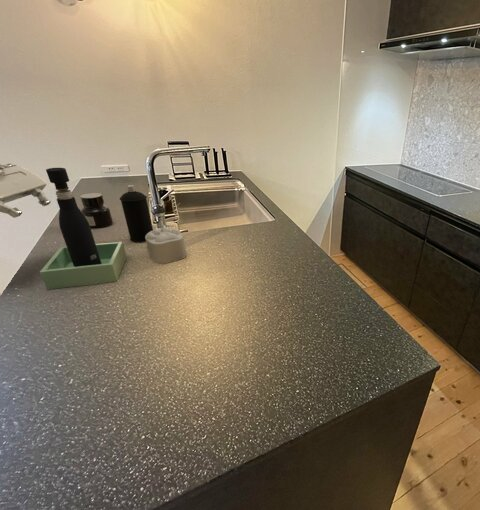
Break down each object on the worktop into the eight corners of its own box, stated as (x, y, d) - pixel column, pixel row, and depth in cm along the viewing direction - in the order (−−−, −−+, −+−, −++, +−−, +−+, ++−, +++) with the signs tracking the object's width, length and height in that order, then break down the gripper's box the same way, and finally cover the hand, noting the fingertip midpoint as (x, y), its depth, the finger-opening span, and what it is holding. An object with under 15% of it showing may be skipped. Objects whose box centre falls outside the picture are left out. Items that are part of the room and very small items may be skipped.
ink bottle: (84, 222, 124) (75, 193, 118) (110, 218, 129) (102, 191, 124) (87, 230, 117) (78, 200, 112) (115, 226, 123) (107, 197, 118)
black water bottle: (80, 265, 94) (45, 166, 80) (105, 263, 96) (75, 166, 83) (72, 276, 89) (34, 171, 75) (99, 273, 91) (66, 171, 77)
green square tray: (47, 289, 83) (39, 272, 80) (66, 262, 96) (60, 246, 93) (117, 281, 89) (112, 264, 87) (126, 256, 102) (122, 241, 100)
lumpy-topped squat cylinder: (156, 265, 98) (150, 241, 95) (144, 251, 107) (139, 227, 103) (189, 257, 105) (185, 233, 101) (176, 243, 113) (172, 222, 109)
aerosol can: (153, 241, 113) (142, 188, 104) (127, 243, 110) (113, 189, 101) (156, 233, 120) (146, 182, 111) (132, 234, 117) (119, 183, 108)
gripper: (9, 170, 87) (57, 205, 92) (-73, 188, 69) (-7, 230, 74) (20, 155, 86) (68, 191, 91) (-61, 170, 67) (5, 214, 73)
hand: (34, 209), depth 82 cm, fingers open, 8 cm apart
